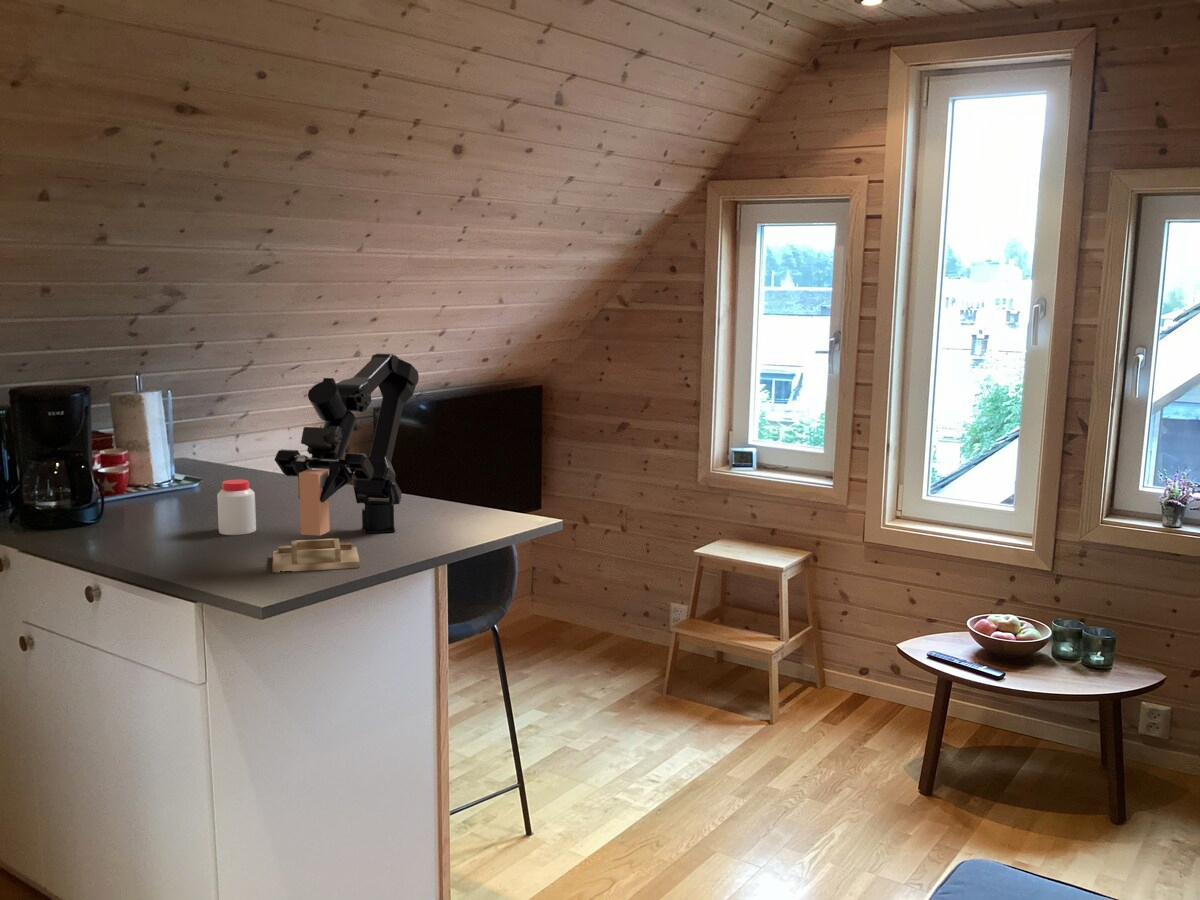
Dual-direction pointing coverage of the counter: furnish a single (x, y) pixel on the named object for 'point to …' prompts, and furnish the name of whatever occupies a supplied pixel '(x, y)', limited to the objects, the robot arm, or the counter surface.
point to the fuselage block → (313, 502)
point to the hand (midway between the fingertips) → (310, 500)
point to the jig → (315, 556)
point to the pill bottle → (236, 508)
